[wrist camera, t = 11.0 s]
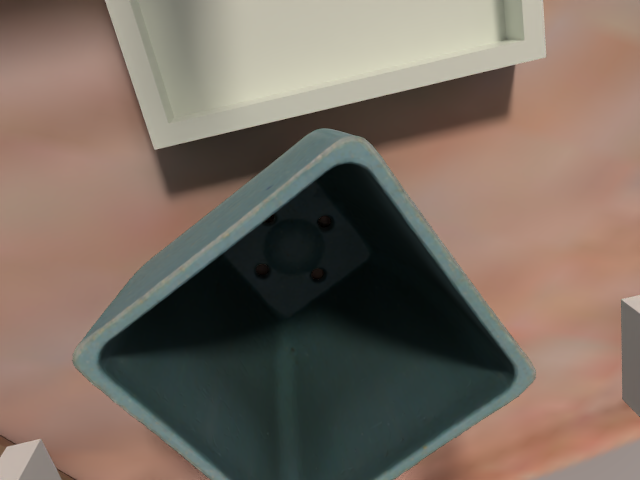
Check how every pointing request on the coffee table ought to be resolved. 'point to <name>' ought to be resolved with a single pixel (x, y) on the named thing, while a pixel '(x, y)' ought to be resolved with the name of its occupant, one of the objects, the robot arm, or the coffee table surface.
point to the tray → (305, 54)
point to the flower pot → (306, 329)
